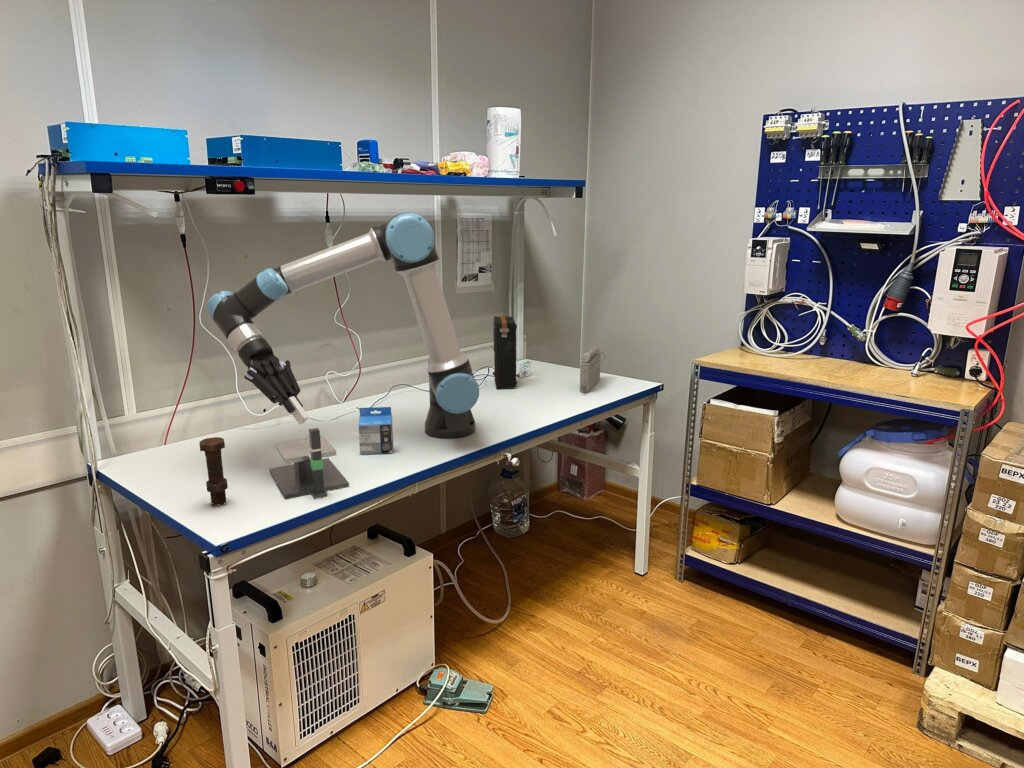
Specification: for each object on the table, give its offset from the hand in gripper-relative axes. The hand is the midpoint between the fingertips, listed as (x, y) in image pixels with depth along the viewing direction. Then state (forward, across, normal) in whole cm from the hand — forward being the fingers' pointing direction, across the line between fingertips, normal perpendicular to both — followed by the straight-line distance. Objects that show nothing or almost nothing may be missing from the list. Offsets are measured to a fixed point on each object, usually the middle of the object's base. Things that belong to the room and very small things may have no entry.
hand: (304, 420), depth 167 cm
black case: (+6, -103, -16) cm, 104 cm away
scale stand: (+12, +1, -10) cm, 15 cm away
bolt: (+6, +21, -16) cm, 26 cm away
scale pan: (+10, +1, -9) cm, 14 cm away
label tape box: (+12, -23, -10) cm, 28 cm away
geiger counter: (+27, -115, +5) cm, 118 cm away
